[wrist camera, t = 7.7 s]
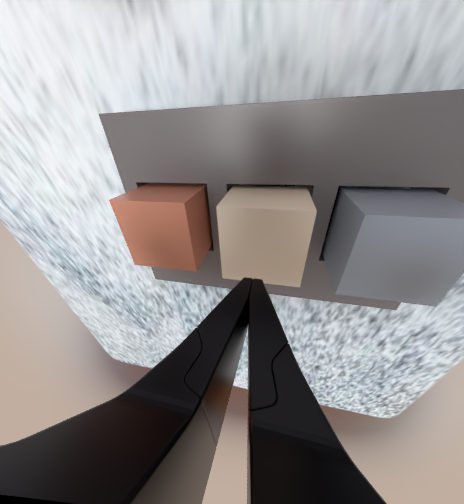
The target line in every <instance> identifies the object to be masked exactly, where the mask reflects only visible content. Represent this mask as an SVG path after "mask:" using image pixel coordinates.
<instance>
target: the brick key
mask: <svg viewBox="0 0 464 504" xmlns="http://www.w3.org/2000/svg"><path fill="white" fill-rule="evenodd" d="M109 201H110V203H111V206H112V208H113V211H114V213H115V216H116V218H117V221H118V223H119V226H120V228H121V231H122V233H123V236H124V238H125V241H126V243H127V246H128V248H129V251H130V253H131V256H132V258H133V261H134V263H135V265H143V266H152V267H161V268H169V269H178V270H187V271H195V272H197V270H198V268H199V267H200V265H201V263H202V261H203V260H204V258H205V256H206V254H207V253H208V251H209V249H210V248H211V246H212V244H213V237H212V228H211V218H210V209H209V200H208V190H207V184H203V183H148V184H145V185H143V186H141V187H138V188H136V189H134V190H131V191H129V192H127V193H124V194H122V195H120V196H118V197H115V198H113V199H111V200H109Z"/></svg>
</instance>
